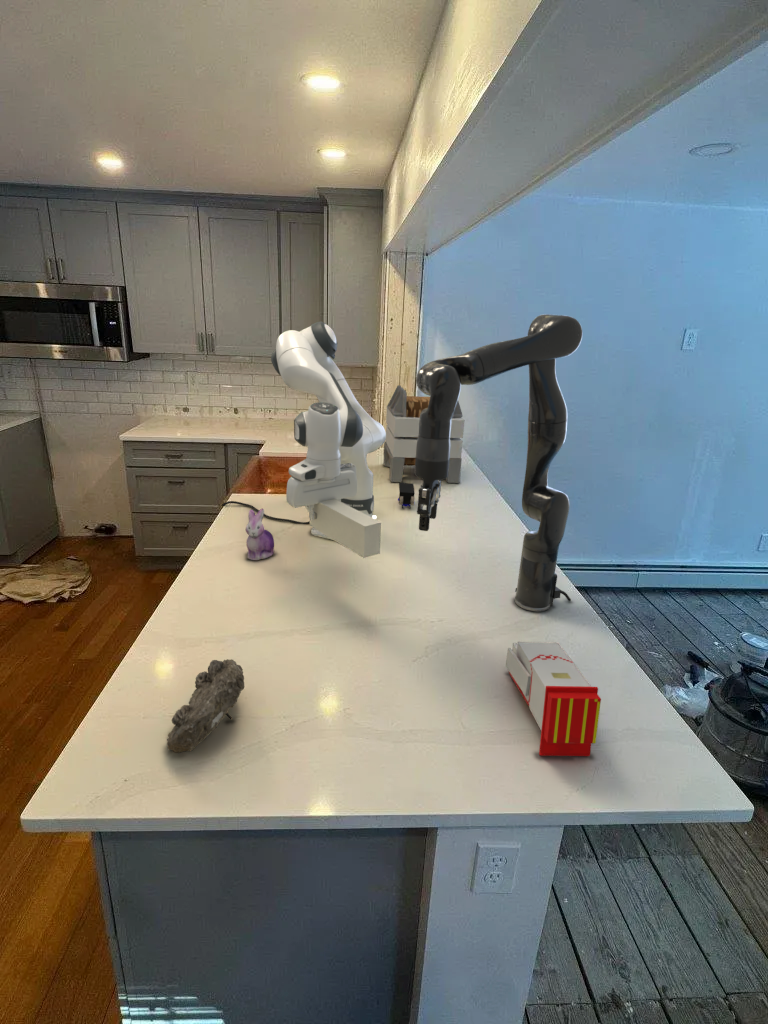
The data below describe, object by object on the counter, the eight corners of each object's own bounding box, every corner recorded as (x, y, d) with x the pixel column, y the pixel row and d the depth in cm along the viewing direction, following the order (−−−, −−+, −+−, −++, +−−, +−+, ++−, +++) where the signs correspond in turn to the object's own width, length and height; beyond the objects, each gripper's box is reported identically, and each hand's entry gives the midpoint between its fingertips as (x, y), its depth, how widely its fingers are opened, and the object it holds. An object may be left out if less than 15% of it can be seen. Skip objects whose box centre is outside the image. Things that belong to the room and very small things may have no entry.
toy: (554, 624, 127) (610, 694, 97) (548, 679, 130) (602, 763, 100) (500, 623, 126) (541, 693, 97) (496, 678, 129) (534, 763, 100)
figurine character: (415, 514, 223) (412, 498, 237) (416, 496, 220) (414, 481, 234) (398, 513, 223) (396, 497, 237) (399, 496, 220) (397, 480, 233)
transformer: (382, 463, 289) (386, 382, 275) (445, 464, 293) (451, 384, 279) (390, 482, 257) (394, 392, 243) (460, 483, 261) (468, 394, 247)
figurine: (249, 563, 172) (248, 517, 167) (241, 550, 180) (239, 506, 175) (280, 558, 176) (279, 513, 171) (270, 546, 184) (269, 502, 179)
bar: (309, 525, 153) (309, 497, 151) (325, 522, 156) (325, 493, 154) (363, 558, 135) (364, 526, 133) (380, 553, 138) (381, 522, 135)
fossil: (192, 660, 117) (244, 628, 112) (224, 691, 120) (276, 661, 115) (142, 746, 98) (202, 712, 93) (182, 779, 101) (242, 748, 96)
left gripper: (349, 459, 155) (348, 506, 160) (283, 469, 143) (283, 520, 148) (363, 464, 151) (361, 513, 156) (295, 475, 139) (295, 527, 144)
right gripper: (443, 465, 119) (437, 537, 124) (454, 450, 132) (448, 516, 137) (408, 461, 120) (404, 532, 126) (423, 447, 133) (418, 512, 139)
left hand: (322, 516), depth 152 cm, fingers closed on bar, 5 cm apart
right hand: (427, 523), depth 131 cm, fingers open, 8 cm apart
